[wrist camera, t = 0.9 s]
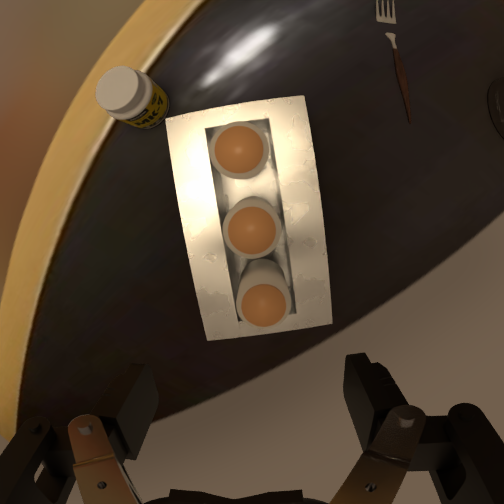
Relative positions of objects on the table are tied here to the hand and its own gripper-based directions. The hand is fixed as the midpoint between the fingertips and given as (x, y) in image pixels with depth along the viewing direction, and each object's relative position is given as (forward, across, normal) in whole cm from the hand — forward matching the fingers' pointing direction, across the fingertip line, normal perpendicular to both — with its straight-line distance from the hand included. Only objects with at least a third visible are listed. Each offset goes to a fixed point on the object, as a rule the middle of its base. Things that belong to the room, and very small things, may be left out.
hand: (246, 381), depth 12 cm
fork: (+21, -18, -21) cm, 35 cm away
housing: (+21, 0, -4) cm, 21 cm away
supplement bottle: (+21, +10, -17) cm, 29 cm away
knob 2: (+16, 0, -4) cm, 17 cm away
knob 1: (+16, 0, -10) cm, 19 cm away
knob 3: (+16, -1, +1) cm, 16 cm away
